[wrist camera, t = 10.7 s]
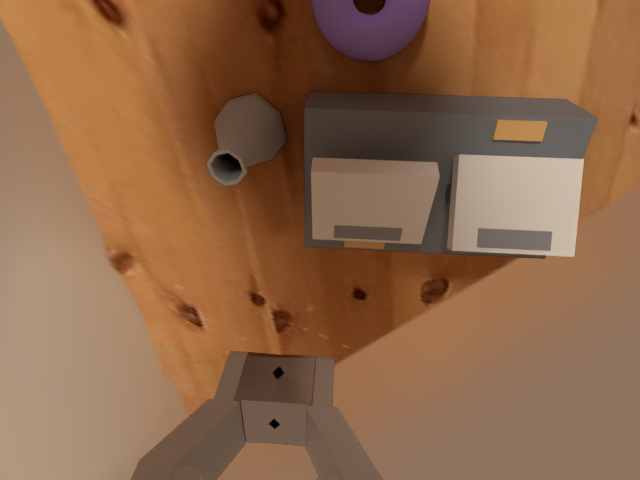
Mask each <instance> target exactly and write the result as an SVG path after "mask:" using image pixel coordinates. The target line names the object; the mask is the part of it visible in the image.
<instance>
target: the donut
mask: <svg viewBox="0 0 640 480" xmlns="http://www.w3.org/2000/svg"><path fill="white" fill-rule="evenodd" d="M311 1H312V8H313V12H314V16H315V19H316V22H317V24H318V26H319V28H320V30H321V32H322V34H323V35H324V37H325V38H326V40H327V41H328V42H329V43H330V44H331V45H332V46H333V47H334V48H335V49H337V50H338V51H340V52H341V53H343V54H344V55H346V56H348V57H350V58H352V59H357V60H365V61H376V60H382V59H385V58H388V57H391V56H393V55H395V54H396V53H398V52H400V51H401V50H402V49H404V48H405V47H406V46H407V45H409V43H410V42H411V41H412V40H413V39H414V37H415V36H416V35H417V33H418V31H419V30H420V28H421V26H422V25H423V22H424V20H425V17H426V15H427V12H428V8H429V3H430V0H386V2H385V5H384V7H383V8H382V10H381V11H380V12H378V13H377V14H374V15H367V14H364V13H361V12H359V11H358V10H357V8H356V7H355V5H354V1H353V0H311Z"/></svg>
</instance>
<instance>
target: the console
mask: <svg viewBox="0 0 640 480" xmlns="http://www.w3.org/2000/svg"><path fill="white" fill-rule="evenodd" d="M597 120H598V118H597V117H595V116H594V115H592V114H590V113H589V112H587V111H585V110H584V109H582V108H580V107H578V106H577V105H575V104H573V103H572V102H570V101H568V100H567V99H542V98H511V97H479V96H448V95H416V94H385V93H354V92H322V91H310V93H309V96H308V98H307V101H306V104H305V107H304V196H305V247H316V248H336V249H357V250H377V251H398V252H418V253H439V254H459V255H479V256H500V257H520V258H541V259H544V258H545V257H546V255H529V254H508V253H488V252H467V251H452V250H449V249H447V239H448V225H449V211H450V198H451V184H452V170H453V157H454V156H456V155H459V154H464V155H490V156H516V157H542V158H569V159H583V157H584V154H585V152H586V149H587V146H588V144H589V141H590V139H591V136H592V133H593V131H594V128H595V125H596V123H597ZM313 157H315V158H340V159H366V160H392V161H417V162H437V164H438V170H439V175H440V178H439V182H438V185H437V189H436V193H435V196H434V200H433V203H432V207H431V211H430V214H429V218H428V222H427V225H426V229H425V232H424V236H423V240H422V243H421V244H404V243H383V242H363V241H342V240H321V239H313V237H312V195H311V167H312V159H313Z"/></svg>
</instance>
